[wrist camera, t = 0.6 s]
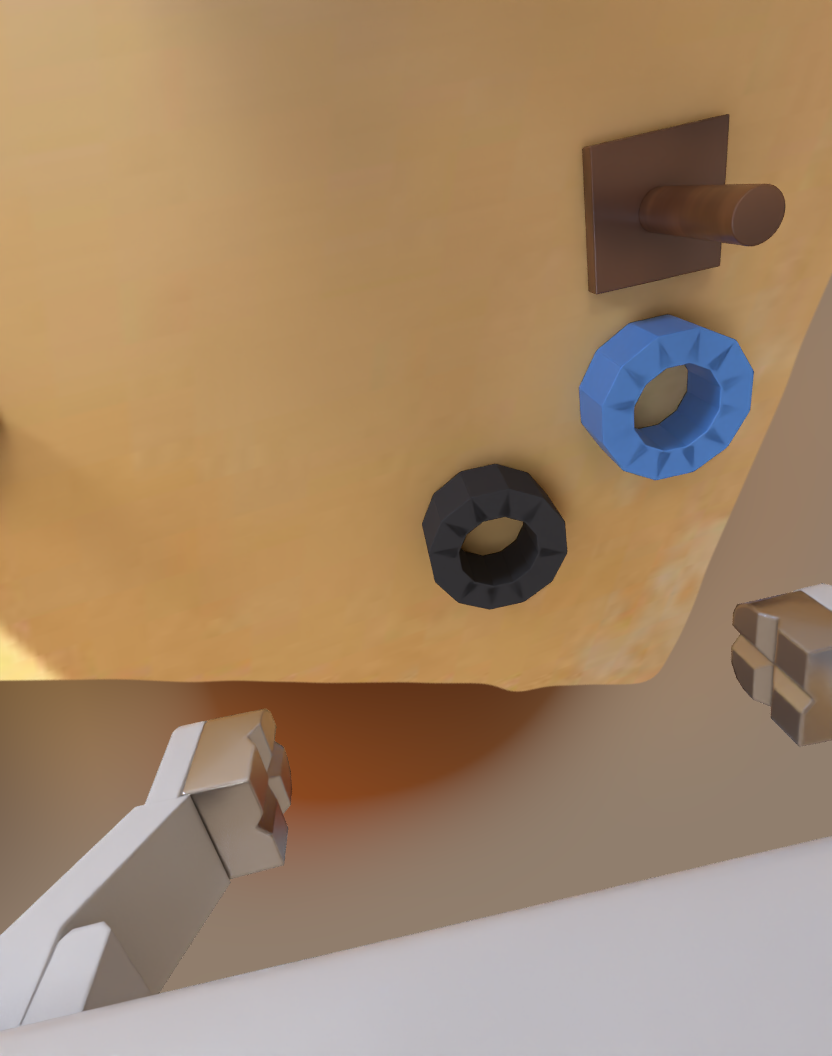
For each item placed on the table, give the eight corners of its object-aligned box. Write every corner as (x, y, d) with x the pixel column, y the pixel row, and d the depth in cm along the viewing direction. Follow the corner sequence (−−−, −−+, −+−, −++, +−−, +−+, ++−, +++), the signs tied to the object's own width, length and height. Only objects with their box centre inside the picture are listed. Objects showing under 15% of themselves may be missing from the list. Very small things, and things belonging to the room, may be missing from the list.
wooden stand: (581, 147, 38) (674, 131, 27) (717, 116, 38) (862, 87, 27) (588, 291, 43) (669, 325, 32) (709, 263, 43) (831, 288, 32)
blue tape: (575, 334, 44) (599, 349, 40) (721, 301, 44) (760, 313, 40) (583, 467, 50) (604, 492, 46) (712, 438, 50) (745, 460, 46)
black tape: (412, 482, 49) (418, 509, 45) (543, 452, 49) (561, 476, 45) (436, 587, 55) (443, 620, 51) (553, 561, 55) (570, 591, 50)
